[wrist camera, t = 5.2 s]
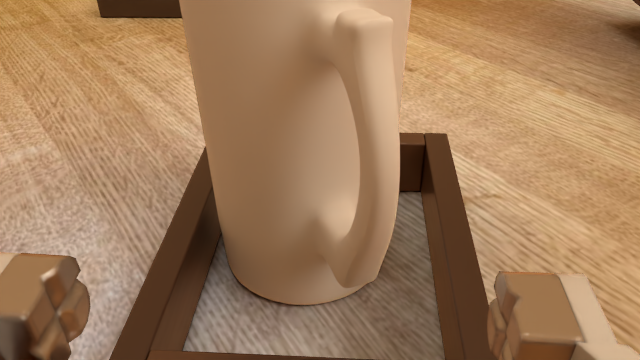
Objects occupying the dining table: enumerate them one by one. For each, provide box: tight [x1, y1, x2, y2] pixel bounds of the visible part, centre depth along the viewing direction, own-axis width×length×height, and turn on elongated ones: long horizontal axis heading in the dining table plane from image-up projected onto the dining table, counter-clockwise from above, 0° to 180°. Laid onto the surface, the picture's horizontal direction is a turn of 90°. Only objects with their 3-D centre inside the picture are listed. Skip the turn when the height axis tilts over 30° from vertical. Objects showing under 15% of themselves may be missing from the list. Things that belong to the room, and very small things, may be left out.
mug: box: [179, 0, 411, 305], centre depth 17 cm, size 10×7×12 cm, turn 19°
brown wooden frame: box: [109, 133, 498, 360], centre depth 20 cm, size 10×13×2 cm
